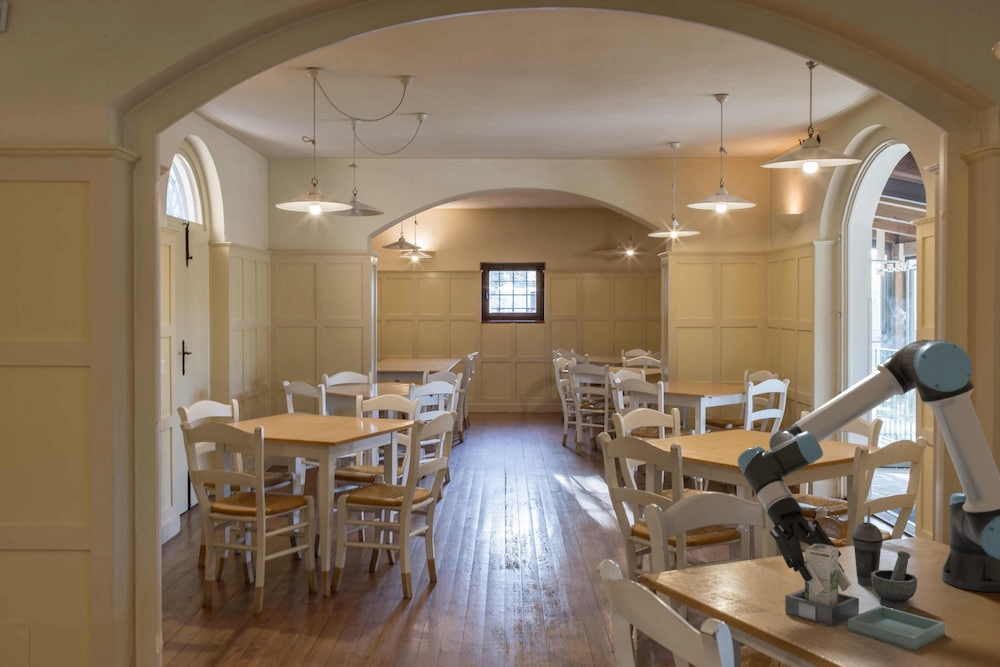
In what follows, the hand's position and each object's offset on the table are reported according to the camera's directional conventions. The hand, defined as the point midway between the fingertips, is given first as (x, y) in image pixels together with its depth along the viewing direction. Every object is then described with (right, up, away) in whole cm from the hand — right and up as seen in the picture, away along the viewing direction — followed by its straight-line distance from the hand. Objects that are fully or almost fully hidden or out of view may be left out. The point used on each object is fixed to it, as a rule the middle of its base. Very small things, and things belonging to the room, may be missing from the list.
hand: (833, 590), depth 183 cm
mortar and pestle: (+19, -7, +10) cm, 22 cm away
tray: (+10, -6, -8) cm, 15 cm away
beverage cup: (+19, -7, +26) cm, 33 cm away
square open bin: (-1, -6, +3) cm, 7 cm away
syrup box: (-1, -6, +3) cm, 7 cm away
